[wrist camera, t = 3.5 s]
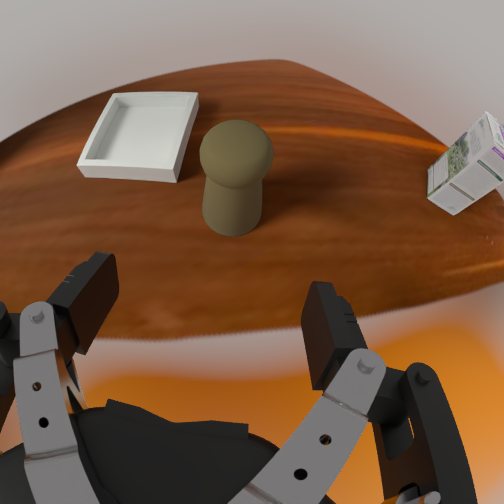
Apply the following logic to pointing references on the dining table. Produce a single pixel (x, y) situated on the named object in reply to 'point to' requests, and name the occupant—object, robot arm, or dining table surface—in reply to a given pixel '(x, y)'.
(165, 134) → the keeper tray
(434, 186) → the syrup box
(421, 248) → the dining table surface
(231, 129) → the cork
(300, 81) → the dining table surface
